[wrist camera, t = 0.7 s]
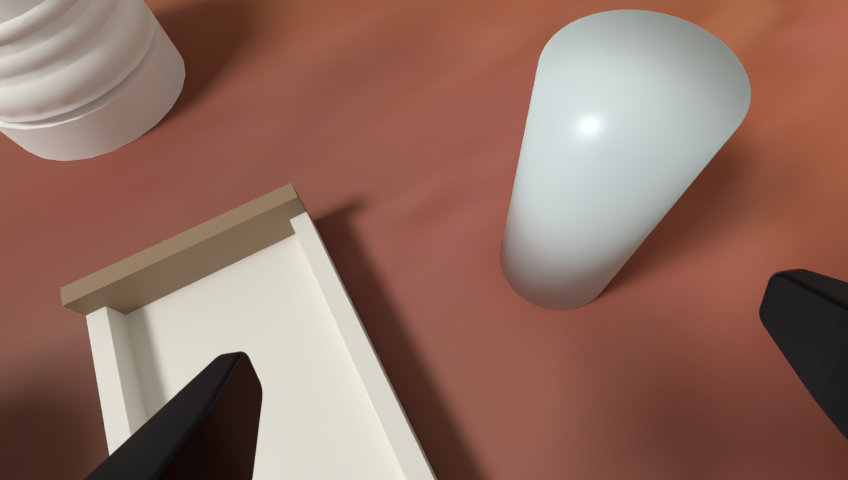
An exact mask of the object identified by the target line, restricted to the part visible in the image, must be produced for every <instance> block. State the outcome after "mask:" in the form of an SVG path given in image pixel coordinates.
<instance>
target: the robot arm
mask: <svg viewBox="0 0 848 480" xmlns="http://www.w3.org/2000/svg"><path fill="white" fill-rule="evenodd" d="M759 315H760V319H761V321H762V324H763V325H764V327H765V328H766V330H767V331H768V333H769V334H770V336H771V337H772V338H773V340H774V341H775V343H776V344H777V346H778V347H779V349H780V350H781V352H782V353H783V355H784V356H785V358H786V359H787V360H788V362H789V363H790V365H791V366H792V368H793V369H794V371H795V372H796V374H797V375H798V377H799V378H800V379H801V381H802V382H803V384H804V385H805V387H806V388H807V390H808V391H809V392H810V394H811V395H812V397H813V398H814V399H815V401H816V402H817V404H818V405H819V406H820V407H821V409H822V410H823V411H824V412H825V414H826V415H827V416H828V417H829V419H830V420H831V421H832V422H833V424H834V425H835V426H836V427H837V428H838V430H839V431H840V432H841V433H842V434H843V436H844V437H845V438H846V439H847V440H848V283H847V282H844V281H841V280H838V279H834V278H831V277H828V276H825V275H822V274H818V273H815V272H812V271H809V270H805V269H792V270H786V271H779V272H776V273H774V274H773V275H772V276H771V277H770V279H769V282H768V285H767V288H766V291H765V294H764V297H763V300H762V303H761V306H760V309H759ZM262 398H263V391H262V385H261V382H260V380H259V378H258V376H257V373H256V371H255V369H254V367H253V365H252V362H251V360H250V358H249V356H248V355H247V354H246V353H245V352H242V351H238V352H232V353H225V354H221V355H219V356H217V357H216V358H215V359H214V360H213V361H212V362H211V363H210V364H208V365H207V366H206V367H205V368H204V369H203V370H202V371H201V372H200V373H199V374H198V375H197V376H195V377H194V378H193V379H192V380H191V381H190V382H189V383H188V384H187V385H186V386H185V387H184V388H182V389H181V390H180V391H179V392H178V393H177V394H176V395H175V396H174V397H173V398H172V399H171V400H169V401H168V402H167V403H166V404H165V405H164V406H163V407H162V408H161V409H160V410H159V411H158V412H156V413H155V414H154V415H153V416H152V417H151V418H150V419H149V420H148V421H147V422H146V423H145V424H143V425H142V426H141V427H140V428H139V429H138V430H137V431H136V432H135V433H134V434H133V435H132V436H131V437H129V438H128V439H127V440H126V441H125V442H124V443H123V444H122V445H121V446H120V447H119V448H118V449H116V450H115V451H114V452H113V453H112V454H111V455H110V456H109V457H108V458H107V459H106V460H105V461H103V462H102V463H101V464H100V465H99V466H98V467H97V468H96V469H95V470H94V471H93V472H92V473H90V474H89V475H88V476H87V477H86V478H85V479H84V480H252V479H253V472H254V464H255V456H256V448H257V440H258V432H259V423H260V415H261V407H262Z"/></svg>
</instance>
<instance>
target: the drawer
mask: <svg viewBox="0 0 848 480" xmlns="http://www.w3.org/2000/svg"><path fill="white" fill-rule="evenodd" d="M60 293H61V300H62V306H64V307H67V308H69V309H71V310H74V311H76V312H79V313H81V314H84V315H86V318H87V324H88V330H89V336H90V342H91V348H92V354H93V360H94V366H95V372H96V378H97V384H98V390H99V396H100V402H101V408H102V414H103V420H104V426H105V432H106V438H107V444H108V450H109V456H110V455H111V454H112V453H113V452H114V451H115V450H116V449H118V448H119V447H120V446H121V445H122V444H123V443H124V442H125V441H126V440H127V439H128V438H129V437H131V436H132V435H133V434H134V433H135V432H136V431H137V430H138V429H139V428H140V427H141V426H142V425H143V424H145V423H146V422H147V421H148V420H149V419H150V418H151V417H152V416H153V415H154V414H155V413H156V412H158V411H159V410H160V409H161V408H162V407H163V406H164V405H165V404H166V403H167V402H168V401H169V400H171V399H172V398H173V397H174V396H175V395H176V394H177V393H178V392H179V391H180V390H181V389H182V388H184V387H185V386H186V385H187V384H188V383H189V382H190V381H191V380H192V379H193V378H194V377H195V376H197V375H198V374H199V373H200V372H201V371H202V370H203V369H204V368H205V367H206V366H207V365H208V364H210V363H211V362H212V361H213V360H214V359H215V358H216V357H217V356H219V355H221V354H225V353H232V352H238V351H242V352H245V353H246V354H247V355H248V356H249V358H250V360H251V362H252V365H253V367H254V369H255V371H256V373H257V376H258V378H259V380H260V382H261V385H262V391H263V398H262V407H261V415H260V423H259V432H258V440H257V448H256V456H255V464H254V472H253V479H252V480H438V479H437V477H436V475H435V473H434V471H433V469H432V467H431V465H430V463H429V461H428V459H427V457H426V455H425V452H424V450H423V448H422V446H421V444H420V442H419V440H418V438H417V436H416V434H415V432H414V430H413V427H412V425H411V423H410V421H409V419H408V417H407V415H406V413H405V411H404V409H403V407H402V405H401V402H400V400H399V398H398V396H397V394H396V392H395V390H394V388H393V386H392V384H391V382H390V380H389V378H388V375H387V373H386V371H385V369H384V367H383V365H382V363H381V361H380V359H379V357H378V355H377V353H376V350H375V348H374V346H373V344H372V342H371V340H370V338H369V336H368V334H367V332H366V330H365V328H364V325H363V323H362V321H361V319H360V317H359V315H358V313H357V311H356V309H355V307H354V305H353V303H352V301H351V298H350V296H349V294H348V292H347V290H346V288H345V286H344V284H343V282H342V280H341V278H340V276H339V273H338V271H337V269H336V267H335V265H334V263H333V261H332V259H331V257H330V255H329V253H328V251H327V248H326V246H325V244H324V242H323V240H322V238H321V236H320V234H319V232H318V230H317V228H316V226H315V224H314V221H313V220H312V218H311V216H310V214H309V213H308V211H307V209H306V208H305V206H304V204H303V202H302V201H301V199H300V197H299V196H298V194H297V192H296V191H295V189H294V187H293V185H292V184H291V183H290V184H287V185H285V186H283V187H281V188H279V189H277V190H274V191H272V192H270V193H268V194H266V195H263V196H261V197H259V198H257V199H255V200H252V201H250V202H248V203H246V204H244V205H242V206H239V207H237V208H235V209H233V210H231V211H228V212H226V213H224V214H222V215H220V216H217V217H215V218H213V219H211V220H209V221H207V222H204V223H202V224H200V225H198V226H196V227H193V228H191V229H189V230H187V231H185V232H182V233H180V234H178V235H176V236H174V237H172V238H169V239H167V240H165V241H163V242H161V243H158V244H156V245H154V246H152V247H150V248H147V249H145V250H143V251H141V252H139V253H137V254H134V255H132V256H130V257H128V258H126V259H123V260H121V261H119V262H117V263H115V264H112V265H110V266H108V267H106V268H104V269H102V270H99V271H97V272H95V273H93V274H91V275H88V276H86V277H84V278H82V279H80V280H77V281H75V282H73V283H71V284H69V285H66V286H64V287H62V288H60Z"/></svg>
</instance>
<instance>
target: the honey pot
mask: <svg viewBox="0 0 848 480" xmlns="http://www.w3.org/2000/svg"><path fill="white" fill-rule="evenodd" d="M185 75H186V74H185V67H184V60H183V59H182V57H181V55H180V54H179V52H178V51H177V49H176V47H175V46H174V44H173V43H172V41H171V40H170V39H169V37H168V36H167V34H166V33H165V31H164V30H163V28H162V27H161V25H160V24H159V22H158V21H157V19H156V18H155V16H154V15H153V13H152V12H151V11H150V9H149V8H148V6H147V4H146V3H145V2H144V1H143V0H0V131H1V132H2V133H4V134H5V135H6V136H8V137H9V138H10V139H12V140H13V141H14V142H16V143H17V144H19V145H20V146H21V147H23V148H24V149H25V150H27V151H29V152H31V153H33V154H35V155H37V156H40V157H42V158H45V159H53V160H61V161H69V160H79V159H88V158H92V157H95V156H98V155H102V154H105V153H108V152H112V151H114V150H116V149H118V148H120V147H122V146H124V145H126V144H128V143H130V142H132V141H134V140H136V139H138V138H139V137H140V136H142V135H143V134H144V133H146V132H147V131H148V130H150V129H151V128H152V127H154V126H155V125H157V123H158V122H159V121H160V120H161V119H162V118H163V117H164V116H165V115H166V114H167V113H168V112H169V111H170V109H171V108H172V107H173V105H174V103H175V102H176V100H177V98H178V96H179V95H180V93H181V91H182V88H183V83H184V79H185Z"/></svg>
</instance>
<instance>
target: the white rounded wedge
mask: <svg viewBox="0 0 848 480" xmlns="http://www.w3.org/2000/svg"><path fill="white" fill-rule="evenodd" d="M750 97H751V91H750V83H749V80H748V76H747V73H746V71H745V69H744V67H743V65H742V64H741V62H740V61H739V59H738V58H737V56H736V55H735V54H734V53H733V52H732V50H731V49H730V48H729V47H728V46H727V45H726V44H724V43H723V42H722V41H721V40H720V39H718V38H717V37H716V36H714V35H713V34H711V33H710V32H708V31H707V30H705V29H703V28H701V27H700V26H697V25H695V24H693V23H691V22H689V21H686V20H683V19H681V18H678V17H675V16H671V15H667V14H664V13H658V12H653V11H644V10H613V11H606V12H600V13H596V14H592V15H589V16H586V17H583V18H580V19H578V20H576V21H574V22H572V23H570V24H568V25H567V26H565V27H564V28H562V29H561V30H560V31H558V32H557V33H556V34H555V35H554V36H553V37H552V38H551V39H550V40H549V41H548V43H547V44H546V46H545V47H544V49H543V51H542V53H541V56H540V58H539V63H538V68H537V73H536V78H535V83H534V88H533V93H532V98H531V103H530V107H529V112H528V117H527V122H526V127H525V132H524V137H523V142H522V147H521V152H520V157H519V162H518V167H517V172H516V177H515V182H514V187H513V192H512V197H511V202H510V207H509V212H508V217H507V222H506V227H505V232H504V237H503V242H502V246H501V253H500V259H501V266H502V270H503V273H504V275H505V277H506V279H507V281H508V282H509V284H510V285H511V287H512V288H513V289H514V290H515V291H516V292H517V293H518V294H519V295H520V296H522V297H523V298H524V299H526V300H527V301H529V302H531V303H533V304H535V305H537V306H540V307H543V308H547V309H552V310H569V309H575V308H578V307H581V306H584V305H586V304H588V303H589V302H591V301H593V300H594V299H595V298H596V297H597V296H599V294H600V293H601V292H602V291H603V290H604V288H605V287H606V286H607V285H608V284H609V282H610V281H611V280H612V279H613V278H614V276H615V275H616V274H617V273H618V272H619V270H620V269H621V268H622V267H623V265H624V264H625V263H626V262H627V261H628V259H629V258H630V257H631V256H632V255H633V253H634V252H635V251H636V250H637V249H638V247H639V246H640V245H641V244H642V243H643V241H644V240H645V239H646V238H647V237H648V235H649V234H650V233H651V232H652V230H653V229H654V228H655V227H656V226H657V224H658V223H659V222H660V221H661V220H662V218H663V217H664V216H665V215H666V214H667V212H668V211H669V210H670V209H671V208H672V206H673V205H674V204H675V203H676V201H677V200H678V199H679V198H680V197H681V195H682V194H683V193H684V192H685V191H686V189H687V188H688V187H689V186H690V185H691V183H692V182H693V181H694V180H695V179H696V177H697V176H698V175H699V174H700V173H701V171H702V170H703V169H704V168H705V166H706V165H707V164H708V163H709V162H710V160H711V159H712V158H713V157H714V156H715V154H716V153H717V152H718V151H719V150H720V148H721V147H722V146H723V145H724V144H725V142H726V141H727V140H728V139H729V138H730V136H731V135H732V134H733V133H734V131H735V130H736V129H737V128H738V127H739V125H740V124H741V123H742V121H743V119H744V118H745V116H746V114H747V111H748V108H749V105H750Z"/></svg>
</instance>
